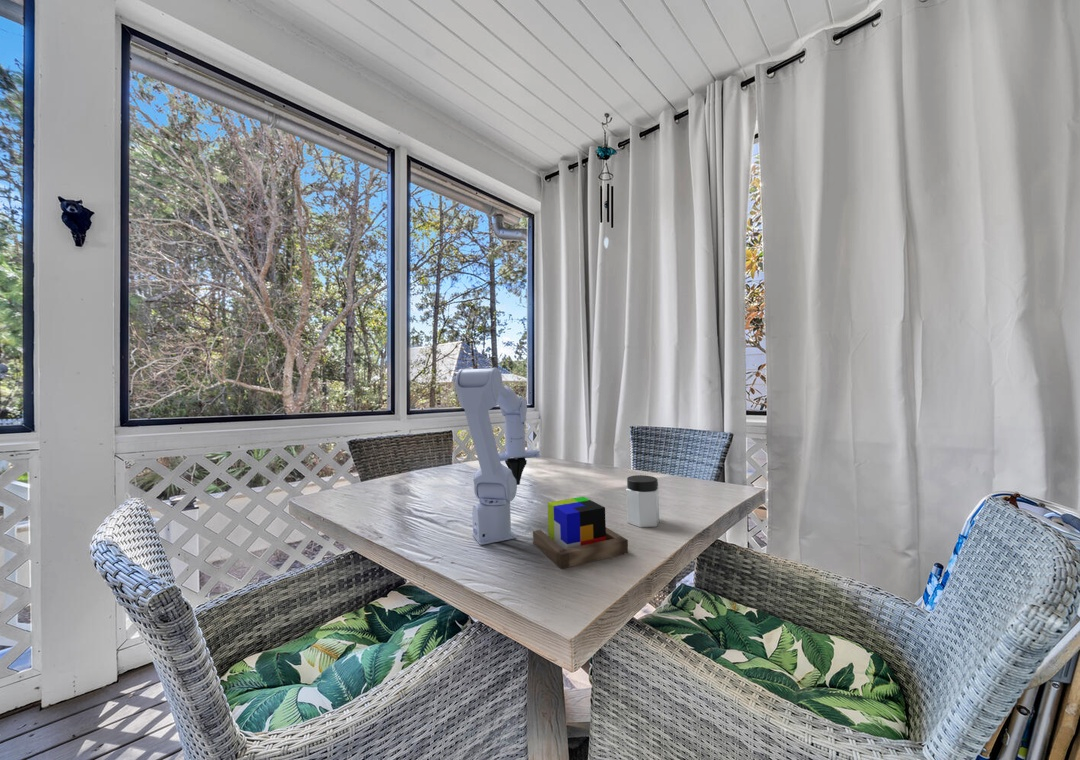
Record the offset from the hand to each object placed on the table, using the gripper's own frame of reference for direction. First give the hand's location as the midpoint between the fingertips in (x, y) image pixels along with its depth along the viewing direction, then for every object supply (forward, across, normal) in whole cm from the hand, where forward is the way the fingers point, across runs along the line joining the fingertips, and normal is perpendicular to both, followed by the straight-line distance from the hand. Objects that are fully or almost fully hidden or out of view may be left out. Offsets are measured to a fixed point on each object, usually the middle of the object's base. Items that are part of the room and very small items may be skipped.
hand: (516, 484), depth 120 cm
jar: (+10, -29, +21) cm, 37 cm away
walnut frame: (+9, -5, +27) cm, 29 cm away
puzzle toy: (+10, -5, +27) cm, 29 cm away
